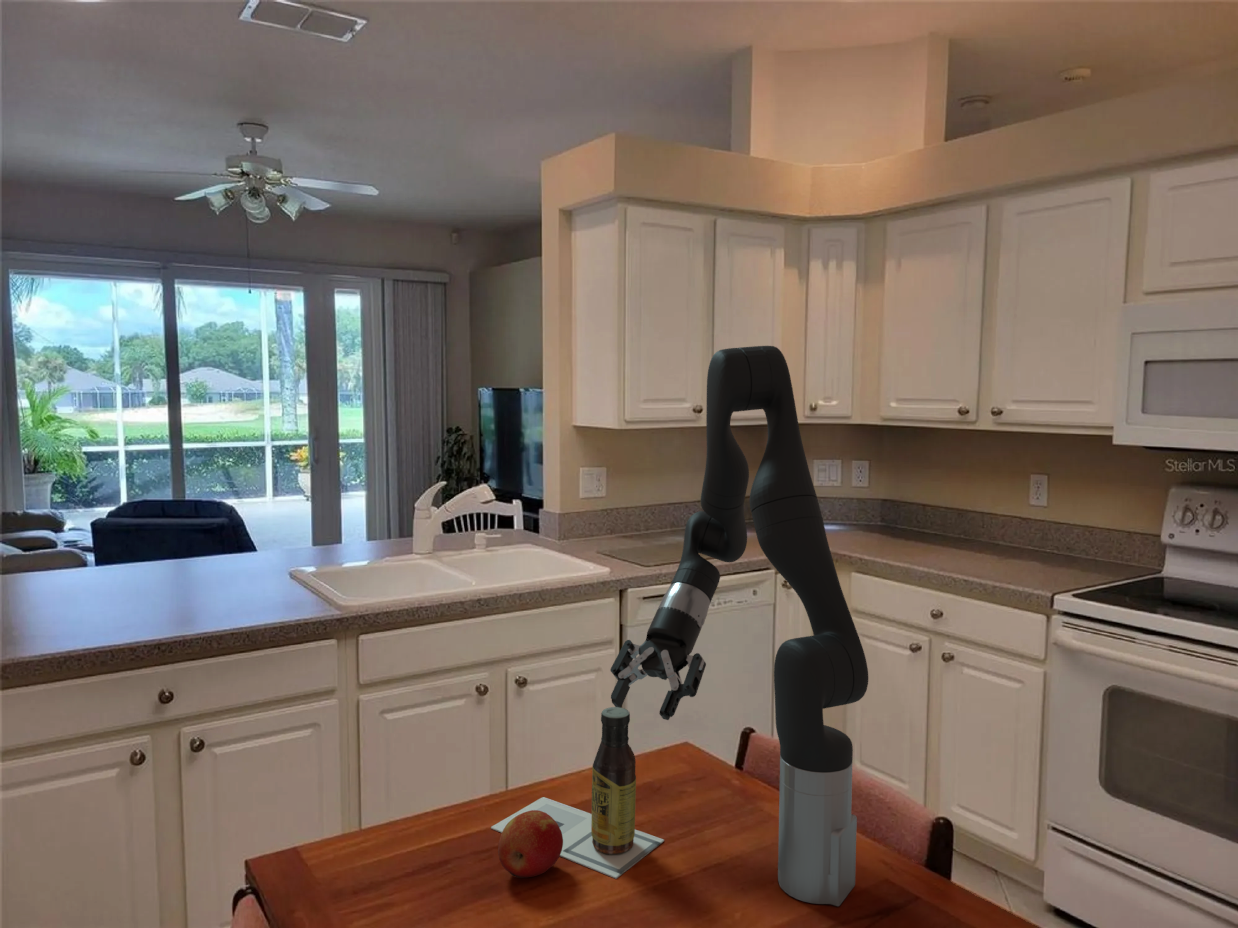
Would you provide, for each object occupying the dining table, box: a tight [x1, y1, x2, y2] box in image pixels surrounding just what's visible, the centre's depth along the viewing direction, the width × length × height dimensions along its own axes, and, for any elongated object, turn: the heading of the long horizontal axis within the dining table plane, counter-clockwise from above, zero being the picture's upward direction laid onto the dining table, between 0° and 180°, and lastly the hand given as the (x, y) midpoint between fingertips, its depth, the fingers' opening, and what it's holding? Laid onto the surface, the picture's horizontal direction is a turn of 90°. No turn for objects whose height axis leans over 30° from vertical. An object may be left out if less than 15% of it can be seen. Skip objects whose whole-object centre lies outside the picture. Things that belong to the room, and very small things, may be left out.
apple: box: [497, 810, 563, 879], centre depth 113 cm, size 8×8×8 cm
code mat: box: [490, 796, 665, 880], centre depth 124 cm, size 23×12×1 cm, turn 55°
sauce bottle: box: [591, 706, 637, 855], centre depth 119 cm, size 7×6×20 cm
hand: (639, 710), depth 124 cm, fingers open, 8 cm apart
